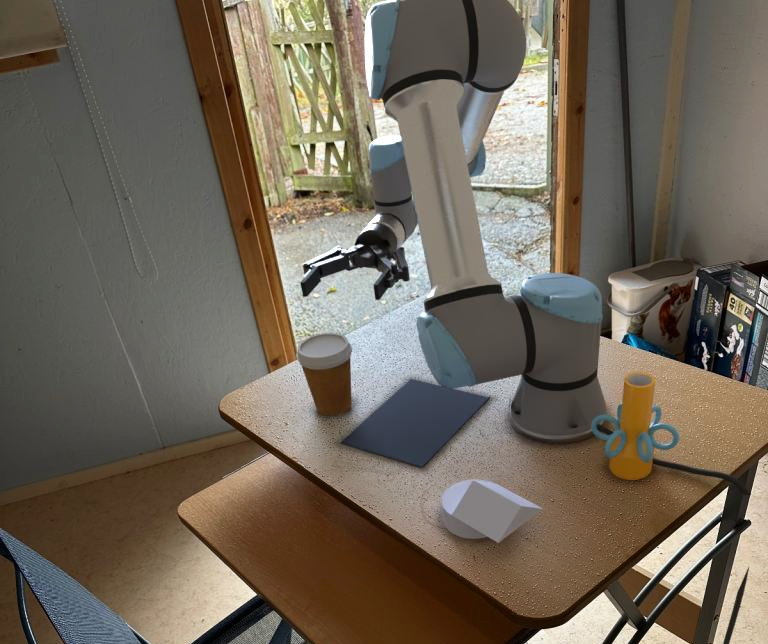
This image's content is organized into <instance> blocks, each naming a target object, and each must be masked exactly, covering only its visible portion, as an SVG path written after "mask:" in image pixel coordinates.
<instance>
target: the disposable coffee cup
mask: <svg viewBox="0 0 768 644" xmlns="http://www.w3.org/2000/svg"><path fill="white" fill-rule="evenodd" d="M352 352H353V346H352V344H351V343H350V342H349V339H348V338H347V337H346V336H345V335H343V334H341V333H336V332H324V333H318V334H314V335H311V336H308V337H306V338H305V339H303V340H302V341H301V342H300V343H299V344H298V346H297V351H296V354H295V357H296V360H297V362H298V363H299V365H300V366H301V368H302V371H303V374H304V377H305V379H306V383H307V386H308V389H309V392H310V394H311V398H312V400H313V403H314V405H315V409H316V412H318V413H319V414H320V415H323V416H336V415H341V414H344V413H345V412H347V411H348V410H349V409H350V408H351V407H352V370H351V365H352V363H351V361H352V360H351V356H352Z"/></svg>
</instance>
